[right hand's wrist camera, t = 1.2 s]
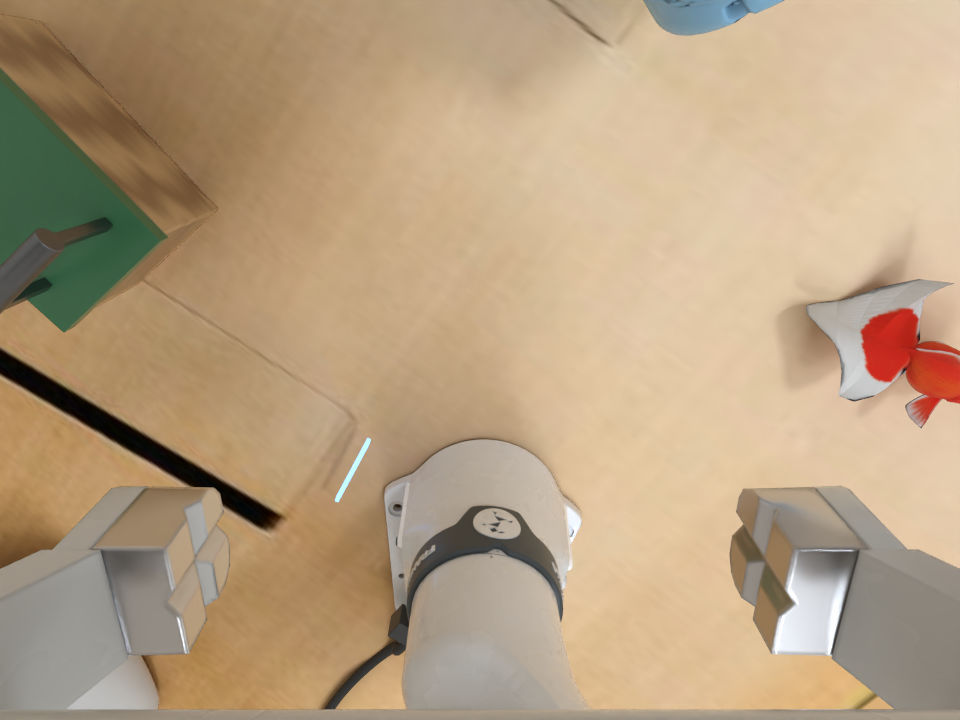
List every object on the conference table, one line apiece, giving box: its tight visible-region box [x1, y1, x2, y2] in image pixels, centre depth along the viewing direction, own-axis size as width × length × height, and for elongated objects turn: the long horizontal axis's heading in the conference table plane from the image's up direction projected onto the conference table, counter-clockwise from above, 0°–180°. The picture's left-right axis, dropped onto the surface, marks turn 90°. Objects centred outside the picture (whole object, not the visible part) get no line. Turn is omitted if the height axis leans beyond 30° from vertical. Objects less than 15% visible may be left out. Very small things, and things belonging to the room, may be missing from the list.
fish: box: [806, 279, 960, 428], centre depth 52 cm, size 11×16×10 cm
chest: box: [0, 14, 218, 308], centre depth 46 cm, size 17×10×10 cm, turn 39°
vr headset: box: [66, 655, 159, 709], centre depth 61 cm, size 22×23×15 cm
